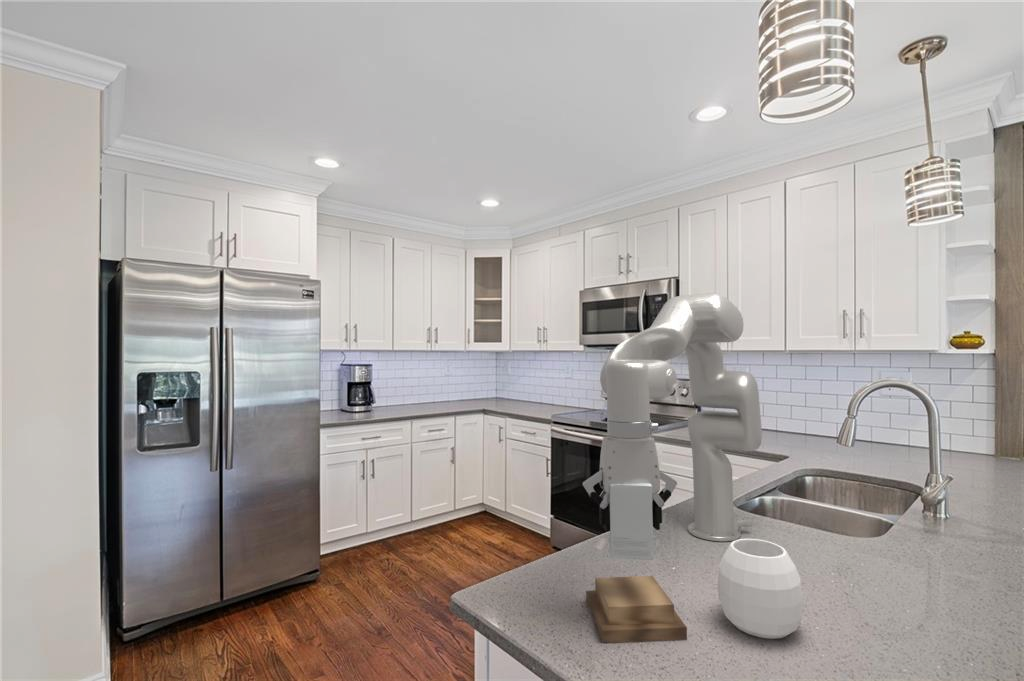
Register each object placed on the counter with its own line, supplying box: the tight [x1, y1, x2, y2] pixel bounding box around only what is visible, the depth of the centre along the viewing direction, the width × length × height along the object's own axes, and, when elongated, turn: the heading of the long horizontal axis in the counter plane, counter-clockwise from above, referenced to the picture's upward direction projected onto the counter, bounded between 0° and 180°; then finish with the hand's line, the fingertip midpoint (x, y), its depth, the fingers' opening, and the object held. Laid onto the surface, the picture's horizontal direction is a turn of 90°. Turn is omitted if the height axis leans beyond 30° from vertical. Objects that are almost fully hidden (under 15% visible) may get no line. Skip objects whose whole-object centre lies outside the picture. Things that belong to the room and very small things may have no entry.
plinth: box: [585, 575, 688, 644], centre depth 90 cm, size 14×14×5 cm
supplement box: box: [608, 483, 654, 561], centre depth 90 cm, size 7×7×13 cm
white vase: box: [717, 538, 804, 640], centre depth 87 cm, size 13×13×14 cm
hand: (630, 527), depth 90 cm, fingers closed on supplement box, 8 cm apart
